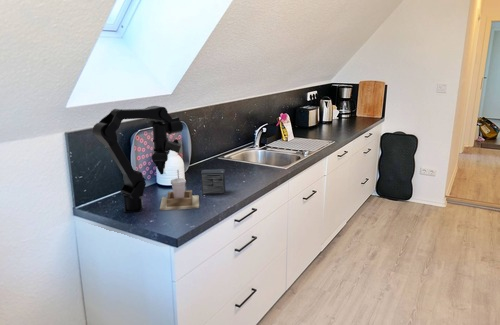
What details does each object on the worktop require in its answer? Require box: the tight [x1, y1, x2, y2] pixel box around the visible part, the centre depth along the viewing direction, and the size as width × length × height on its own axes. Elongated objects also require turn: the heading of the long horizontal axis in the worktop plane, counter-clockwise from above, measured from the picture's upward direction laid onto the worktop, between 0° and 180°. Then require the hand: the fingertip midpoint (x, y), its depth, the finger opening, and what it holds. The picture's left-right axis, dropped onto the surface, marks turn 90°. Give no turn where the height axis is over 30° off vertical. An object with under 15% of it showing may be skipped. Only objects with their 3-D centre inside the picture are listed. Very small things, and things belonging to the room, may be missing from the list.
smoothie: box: [170, 169, 187, 198], centre depth 173 cm, size 6×6×14 cm
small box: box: [200, 168, 226, 196], centre depth 187 cm, size 11×6×10 cm, turn 92°
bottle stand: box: [159, 190, 200, 211], centre depth 175 cm, size 16×14×4 cm
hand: (162, 171), depth 177 cm, fingers open, 9 cm apart
